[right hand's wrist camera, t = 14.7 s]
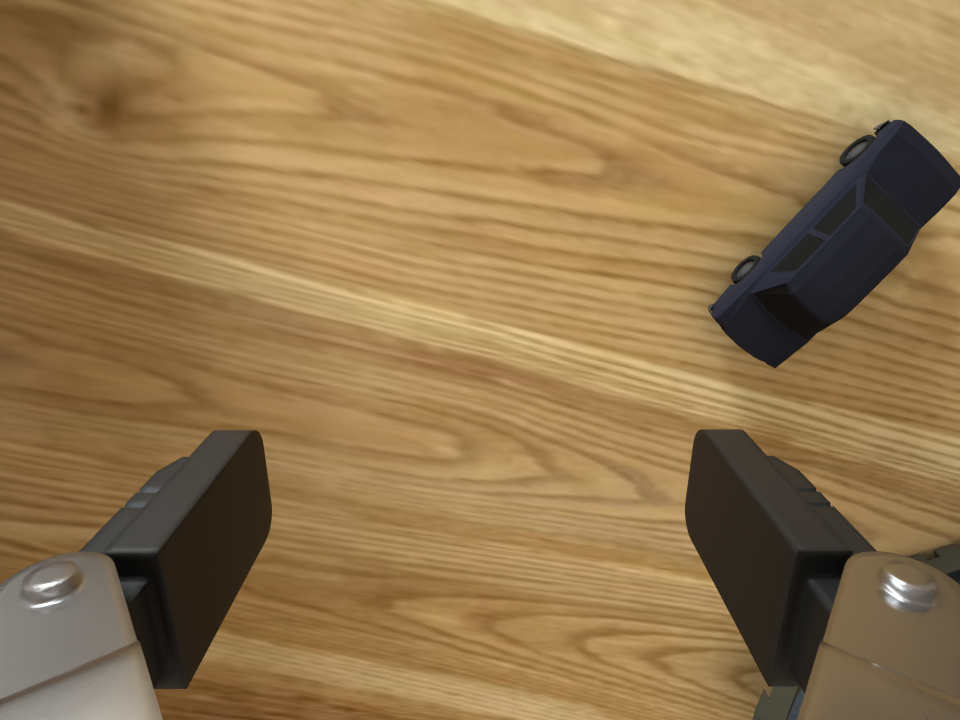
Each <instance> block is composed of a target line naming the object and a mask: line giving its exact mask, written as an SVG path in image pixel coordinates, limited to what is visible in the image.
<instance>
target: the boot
mask: <svg viewBox="0 0 960 720" xmlns="http://www.w3.org/2000/svg"><path fill="white" fill-rule="evenodd" d="M934 553H935V556H936V558H934V559H931V560H927V559H926V558H925V557H924V556H923V554H920V555H917V556H913V557H910V558H912V559H915V560H918V561H920V562H923V563H925V564H927V565H929V566H932V567H934V568H935V569H937V570H939V571H941V572H943V573H944V574H946V575H947V576H949V577H950V578H952V579H953V580H954V581H956V582H957V583H958V584H959V585H960V547H958V546H957V545H956V544H954V545H950V546H947V547H944V548H940V549H937V550H934ZM804 695H805V694H804V692H803V690H802V688H801V687H800V686H774V687H773V690H772V692H771V695H770V697H768V696H767V694H766V692H765V690H764V691H763V693H762V695H761V698H760V700H759V702H758V704H757V707H756V709H755V712H754V717H753V720H797V719H798V715H799V712H800V708H801V705H802V702H803V698H804Z"/></svg>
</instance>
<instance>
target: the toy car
mask: <svg viewBox="0 0 960 720" xmlns="http://www.w3.org/2000/svg"><path fill="white" fill-rule="evenodd" d="M879 128H880V129H879ZM877 129H878V130H877ZM874 130H877V131H876V132H875V134H876V135H877V136H876V138H875V137H874V136H872V135H867V136H863V137H861V138H860V139H858V140H856V141H855V142H854V143H852V144H851V145H850V146H849V147H848V148H847V149H846V150H845V151H844V152H843V154H842V155H841V157H840V164H841V165H843V166H844V168H842V169H840V170H839V171H837V172H836V173H835V174H834V175H833V177H832V178H831V179H830V180H829V181H828V182H827V183H826V184H825V185H824V186H823V187H822V188H821V190H820V191H819V192H818V193H817V194H816V195H815V196H814V197H813V198H812V199H811V200H810V201H809V202H808V203H807V204H806V205H805V206H804V207H803V208H802V209H801V211H800V212H799V213H798V214H797V215H796V216H795V217H794V218H793V219H792V220H791V221H790V222H789V223H788V224H787V225H786V227H785V228H784V229H783V230H782V231H781V232H780V233H779V234H778V235H777V236H776V237H775V238H774V239H773V240H772V241H771V243H770V244H769V245H768V246H767V247H766V248H765V249H764V250H763V251H762V252H761V253H762V255H763V256H762V258H760V257H758V256H750V257H748V258H746V259H745V260H743V261H742V262H741V263H740V264H739V265H738V266H737V267H736V268H735V270H734V272H733V273H732V277H731V279H732V280H733V282H734V283H735V284H734V285H730V286H729V287H728V288H727V290H726V291H725V292H724V293H723V294H722V295H721V297H720V298H719V299H718V300H717V301H716V302H715V303H714V304H712V305H709V308H708V310H709V312H710V309H711V311H712V313H711V312H710V313H711V315H712V317H713V318H714V319H715V321H716V322H717V323H718V324H719V325H720V326H721V328H722V329H723V331H724V332H725V333H726V334H727V335H728V336H729V337H730V338H731V339H732V340H733V341H734V342H735V343H736V344H737V345H738V346H739V347H741V348H742V349H744V350H745V351H746V352H748V353H749V354H751V355H752V356H753V357H755V358H757V359H758V360H761V361H763V362H765V363H766V364H768V365H770V366H772V367H774V368H776V367H777V366H779V365H780V364H781V363H782V362H784V361H785V360H786V359H787V358H789V357H790V356H791V355H792V354H794V353H795V352H796V351H798V350H799V349H800V348H801V347H803V346H804V345H805V344H806V343H807V342H808V341H809V340H810V339H811V338H812V337H813V336H814V335H815V334H816V333H818V332H820V331H821V330H823V329H825V328H826V327H828V326H830V325H831V324H833V323H835V322H836V321H838V320H840V319H842V318H843V317H844V316H846V315H847V314H848V313H849V312H850V311H851V310H852V309H853V308H855V307H856V306H857V305H858V304H859V303H860V302H861V301H862V300H863V299H864V298H865V297H866V296H867V295H868V294H869V293H870V292H871V291H872V290H873V289H874V288H875V287H876V286H877V285H878V284H879V283H880V282H881V281H882V280H883V279H884V278H885V277H886V276H887V275H888V274H889V273H890V272H891V271H892V270H893V269H894V268H895V267H896V266H897V265H898V264H899V263H900V262H901V261H902V260H903V258H904V257H905V256H906V255H907V254H908V252H909V250H910V248H911V246H912V244H913V242H914V240H915V238H916V236H917V234H918V232H919V230H920V229H921V228H922V227H923V226H924V225H925V224H926V223H927V222H928V221H929V220H930V219H931V218H932V217H933V216H935V215H936V214H937V213H938V212H939V211H940V210H941V209H942V208H943V207H944V206H945V205H946V203H947V202H948V201H949V200H950V199H951V198H952V197H953V196H954V195H955V194H956V193H957V191H958V190H959V188H960V176H959V174H958V173H957V172H956V171H955V170H954V169H953V167H952V166H951V165H950V164H949V163H948V161H947V160H946V159H945V158H944V157H943V156H942V155H941V154H940V152H939V151H938V150H937V149H936V148H935V147H934V146H933V145H932V144H931V143H929V142H928V141H927V140H926V139H925V138H924V137H923V136H922V135H921V134H920V133H919V132H917V131H916V130H915V129H914V128H913V127H912V126H911V125H909V124H908V123H906V122H905V121H902V120H894V121H892V122H890V121H889V120H888V121H886V122H884V123H882V124H880V125H878V126H877V127H875V128H874Z"/></svg>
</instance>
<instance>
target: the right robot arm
mask: <svg viewBox="0 0 960 720" xmlns="http://www.w3.org/2000/svg"><path fill="white" fill-rule="evenodd" d="M271 517H272V505H271V497H270V489H269V482H268V475H267V468H266V460H265V453H264V446H263V441H262V437H261V435H260V433H259V432H258V431H256V430H216V431H213V432H212V433H211V434H210V435H209V436H208V437H207V438H206V439H205V440H204V441H203V442H202V443H201V445H200V446H199V447H198V448H197V449H196V450H195V451H194V452H193V453H192V454H191V455H190V457H182V458H180V459H178V460H177V461H175V462H173V463H171V464H170V465H168V466H166V467H164V468H163V469H161V470H159V471H157V472H156V473H155V474H154V475H153V476H152V477H151V478H150V479H149V480H148V481H147V482H146V483H145V484H144V485H143V486H142V487H141V488H140V492H139V493H136V494H135V495H134V496H133V497H132V498H131V499H130V500H129V501H128V502H127V503H126V504H125V508H121V509H120V510H119V511H118V512H117V513H116V514H115V515H114V516H113V517H112V518H111V519H110V520H109V521H108V522H107V523H106V524H105V525H104V527H103V528H102V529H101V530H100V531H99V532H98V533H97V534H96V535H95V536H94V537H93V538H92V539H91V540H90V541H89V542H88V543H87V544H86V545H85V546H84V547H83V548H82V549H81V550H80V551H79V552H73V553H67V554H62V555H58V556H54V557H51V558H48V559H45V560H42V561H40V562H37V563H35V564H33V565H31V566H28V567H26V568H25V569H23V570H21V571H19V572H17V573H16V574H14V575H13V576H11V577H10V578H8V579H7V580H6V581H4V582H3V583H2V584H1V585H0V720H163V719H162V715H161V712H160V708H159V705H158V702H157V698H156V695H155V692H154V689H187V687H188V685H189V683H190V682H191V680H192V678H193V676H194V674H195V672H196V670H197V668H198V667H199V665H200V663H201V661H202V659H203V657H204V655H205V653H206V652H207V650H208V648H209V646H210V644H211V642H212V640H213V638H214V637H215V635H216V633H217V631H218V629H219V627H220V625H221V623H222V622H223V620H224V618H225V616H226V614H227V612H228V610H229V609H230V607H231V605H232V603H233V601H234V599H235V597H236V595H237V594H238V592H239V590H240V588H241V586H242V584H243V582H244V580H245V579H246V577H247V575H248V573H249V571H250V569H251V567H252V565H253V564H254V562H255V560H256V558H257V556H258V554H259V552H260V550H261V549H262V547H263V545H264V543H265V541H266V539H267V537H268V534H269V530H270V525H271ZM685 518H686V525H687V530H688V533H689V536H690V538H691V540H692V542H693V544H694V546H695V548H696V550H697V552H698V554H699V555H700V557H701V559H702V561H703V563H704V565H705V567H706V569H707V571H708V573H709V574H710V576H711V578H712V580H713V582H714V584H715V586H716V588H717V590H718V592H719V593H720V595H721V597H722V599H723V601H724V603H725V605H726V607H727V609H728V610H729V612H730V614H731V616H732V618H733V620H734V622H735V624H736V626H737V628H738V629H739V631H740V633H741V635H742V637H743V639H744V641H745V643H746V645H747V647H748V648H749V650H750V652H751V654H752V656H753V658H754V660H755V662H756V664H757V665H758V667H759V669H760V671H761V673H762V675H763V677H764V679H765V681H766V683H767V684H768V686H800V687H801V688H802V690H803V692H804V694H805V695H804V698H803V702H802V705H801V708H800V712H799V715H798V719H797V720H960V585H959V584H958V583H957V582H956V581H954V580H953V579H952V578H950V577H949V576H947V575H946V574H944V573H943V572H941V571H939V570H937V569H935V568H934V567H932V566H929V565H927V564H925V563H923V562H920V561H918V560H915V559H912V558H909V557H906V556H902V555H898V554H893V553H887V552H877V551H876V550H875V549H874V548H873V547H872V546H871V545H870V544H869V542H868V541H867V540H866V539H865V538H864V537H863V536H862V535H861V534H860V533H859V532H858V531H857V530H856V529H855V528H854V527H853V526H852V525H851V524H850V523H849V522H848V521H847V520H846V519H845V518H844V517H843V516H842V514H841V513H840V512H839V511H838V510H837V509H836V508H835V507H831V506H830V502H829V501H828V500H827V499H826V498H825V497H824V496H823V495H822V494H821V493H820V492H817V491H816V487H815V486H814V485H813V484H812V483H811V482H810V481H809V480H808V479H807V478H806V477H805V476H804V475H803V474H802V473H801V472H800V471H799V470H797V469H795V468H794V467H792V466H790V465H788V464H787V463H785V462H783V461H781V460H780V459H778V458H776V457H775V456H767V455H766V454H765V453H764V452H763V451H762V450H761V449H760V448H759V447H758V446H757V444H756V443H755V442H754V441H753V440H752V439H751V438H750V437H749V436H748V434H747V433H746V432H745V431H743V430H699V431H698V432H697V433H696V436H695V439H694V443H693V450H692V457H691V465H690V472H689V480H688V487H687V494H686V502H685Z"/></svg>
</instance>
